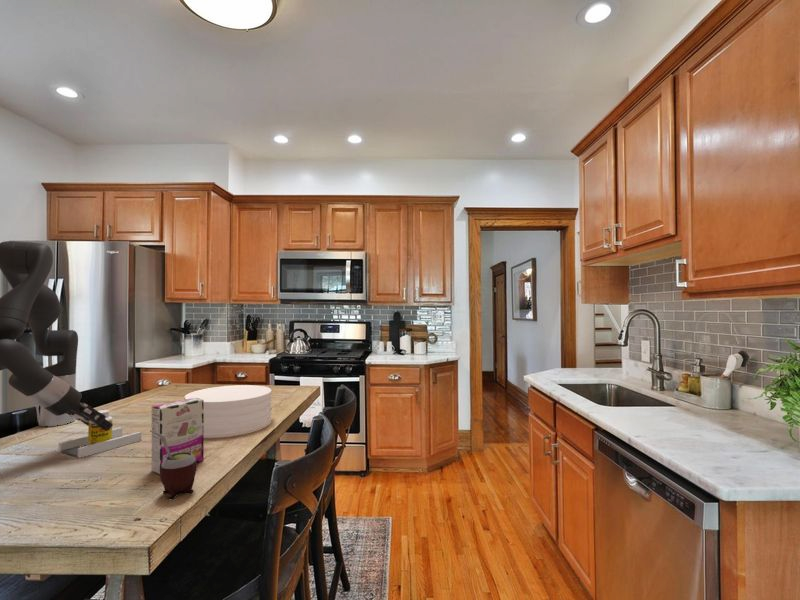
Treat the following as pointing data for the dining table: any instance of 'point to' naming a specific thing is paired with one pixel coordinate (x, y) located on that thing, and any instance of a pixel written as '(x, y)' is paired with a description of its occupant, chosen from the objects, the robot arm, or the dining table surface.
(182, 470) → the mate gourd
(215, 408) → the plate stack
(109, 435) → the supplement bottle
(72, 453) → the trap channel
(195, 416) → the candy bar box
